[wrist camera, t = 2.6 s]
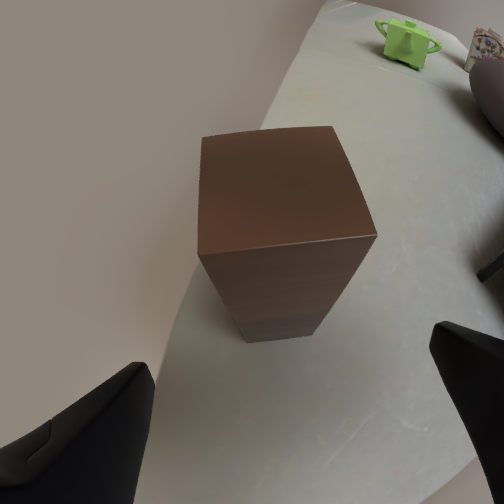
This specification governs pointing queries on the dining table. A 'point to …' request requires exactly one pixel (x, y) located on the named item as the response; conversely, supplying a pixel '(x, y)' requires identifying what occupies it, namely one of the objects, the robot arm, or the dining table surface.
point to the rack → (492, 267)
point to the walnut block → (280, 227)
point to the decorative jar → (485, 47)
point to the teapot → (407, 42)
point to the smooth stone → (489, 90)
